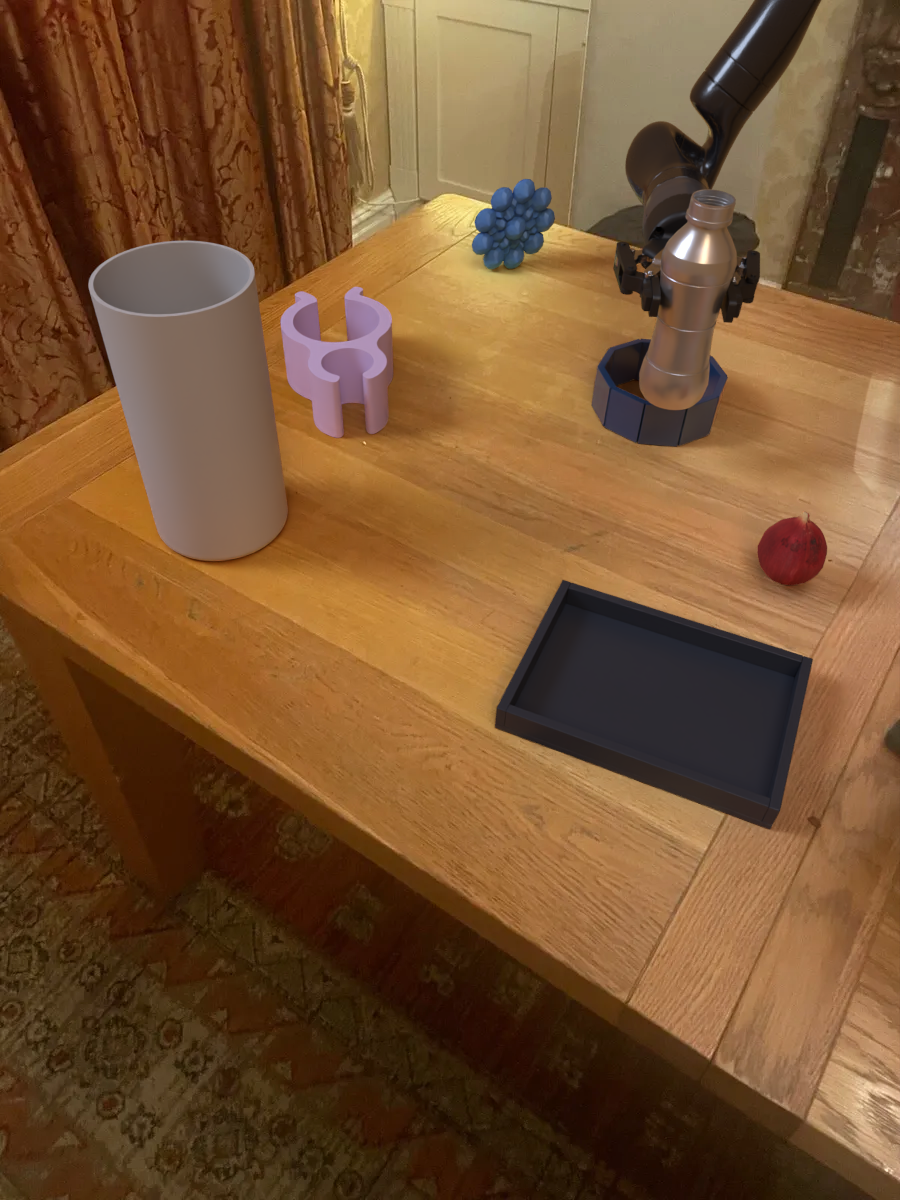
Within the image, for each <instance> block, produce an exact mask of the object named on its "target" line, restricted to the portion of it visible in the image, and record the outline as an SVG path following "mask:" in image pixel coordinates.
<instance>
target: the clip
mask: <svg viewBox="0 0 900 1200" xmlns="http://www.w3.org/2000/svg"><path fill="white" fill-rule="evenodd" d="M344 310H345V325H346V341H323V340H322V338H321V337H322V335H321V325H320V316H319V305H318V298H316V297H315V296H314V295H312V294H311V293H308V292H306V291H303V290H302V291H301V290H299V291H297V292H295V293H294V303H293V304H291V305H290V306H289V307H287V308H286V309H285V311H284V312H283V313H282V315H281V317H280V322H279V323H280V331H281V339H282V347H283V355H284V362H285V372H286V380H287V382H288V384H289V386H290V388H291V389H292V390H293V391H294V392H295V393H296V394H298V395H300V396H301V397H303V398H305V399H308V400H309V401H311V406H312V407H311V408H312V417H313V422H314V425H315V427H316V428H317V429H318V431H320V432H321V433H323V434H325V435H326V436H330V437H332V438H335V439H340V438H342V437H344V434H345V430H344V428H345V427H344V415H343V405H344V404H360V405H363V406H364V419H365V420H364V421H365V431H366V432H367V433H368V434H370V435H374V434H377V433H379V432H380V431H382V430H383V429H384V428H385V427H386V425H387V424H388V421H389V417H390V415H389V413H390V412H389V388H388V387H389V386H390V384H391V383H392V381H393V378H394V347H393V346H394V345H393V343H394V341H393V318H392V317H393V316H392V314H391V311H390V310H389V309H388V307H386V306H385V305H384V304H383V303H381V302H379V301H378V300H376V299H373V298H371V297H369V296H364V288H363V287H360V286H353V287H352V288H350V289H349V290H348V291H347V292H345V294H344Z"/></svg>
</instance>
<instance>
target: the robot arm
mask: <svg viewBox="0 0 900 1200" xmlns="http://www.w3.org/2000/svg"><path fill="white" fill-rule="evenodd" d="M821 3H822V0H753V2H752V3H751V4H750V6H749V8H748V9H747V11H746V12H745V14H744V15H743V16H742V18H741V19H740V21H739V22H738V23H737V24H736V26H735V28H734V29H733V30H732V32H731V33H730V35H729V36H728V37H727V38H726V40H725V41H724V42H723V44H722V45H721V46H720V48H719V50H718V51H717V52H716V54H715V55H714V56H713V58H712V59H711V60H710V62H709V63H708V65H707V66H706V67H705V69H704V70H703V72H702V73H701V74H700V76H699V77H698V78H697V80H696V81H695V83H694V84H693V86H692V88H691V90H690V92H689V101H690V103H691V105H692V108H693V109H694V110H695V111H696V112H697V114H698V115H699V116H700V118H701V119H702V120H703V122H704V123H705V125H706V126H707V135H706V138H705V141H704V143H703V144H702V145H700V144H699V143H698V142H697V141H695V140H694V139H692V138H691V137H690V136H689V135H687V134H686V133H685V132H683V131H682V130H681V129H680V128H679V127H677V126H676V125H674V124H673V123H671V122H668V121H665V120H658V121H653V122H651V123H649V124H647V125H645V126H644V127H642V128H641V129H640V130H639V131H638V132H637V133H636V135H635V136H634V138H633V139H632V141H631V143H630V144H629V147H628V149H627V152H626V157H625V162H624V164H625V165H624V166H625V167H624V170H625V176H626V179H627V182H628V184H629V186H630V187H631V189H632V191H633V193H634V194H635V197H636V199H638V201H639V202H640V203H641V205H642V207H643V215H642V227H641V236H642V240H643V247H642V249H636V248H633V247H632V248H631V246H630V244H629V242H627V241H618V242H617V243H616V247H615V253H614V259H613V264H612V265H613V266H612V269H613V273H614V275H615V279H616V283H617V286H618V289H619V292H620V294H622V295H625V296H629V295H632V294H633V293H636V294H638V296H639V298H640V304H641V305H640V307H641V310H642V311H643V312H648V317H649V318H657V315H658V310H659V305H660V300H661V291H660V272H661V258H662V252H663V250H664V248H665V246H666V244H667V242H668V241H669V239H670V238H671V237H672V236H673V235H674V234H675V233H676V232H677V231H678V230H679V229H680V228H681V227H683V226H684V225H685V224H686V223H687V222H688V220H687V219H686V212H687V209H688V208H689V204H690V200H691V196H692V194H693V193H694V192H695V191H698V190H704V189H712V190H713V188H714V186H715V184H716V182H717V180H718V177H719V175H720V173H721V171H722V168H723V166H724V163H725V161H726V160H727V157H728V155H729V153H730V151H731V149H732V147H733V145H734V143H735V142H736V140H737V138H738V136H739V134H740V133H741V132H742V130H743V128H744V126H745V125H746V123H747V122H748V121H749V119H750V117H751V116H752V115H753V114H754V112H755V111H756V110H757V109H758V108H759V106H760V105H761V104H762V103H763V101H764V100H765V98H767V96H768V95H769V93H770V92H771V91H772V89H773V88H774V87H775V86H776V85H777V83H778V82H779V80H780V79H781V78H782V76H783V75H784V73H785V72H786V71H787V69H788V67H789V66H790V64H791V62H792V61H793V59H794V58H795V56H796V54H797V52H798V50H799V48H800V47H801V44H802V43H803V40H804V38H805V36H806V34H807V32H808V30H809V27H810V25H811V24H812V21H813V19H814V17H815V14H816V12H817V11H818V9H819V6H820V4H821ZM638 264H640V266H641V267H642V268H643V269H644V270H643V272H642V271H638V266H637V265H638ZM760 278H761V253H760V252H759V251H758V250H755V249H754V250H753V249H752V250H747V252H746V255H742V256H737V266H736V269H735V272H734V275H733V277H732V280H731V282H730V285H729V287H728V290H727V292H726V295H725V297H724V299H723V302H722V305H721V308H720V312H721V316H722V322H723V323H726V324H732V323H733V321H734V319H739V317H740V314H741V311H742V307H743V304H752V303H754V300H755V295H756V290H757V288H758V283H759V281H760Z"/></svg>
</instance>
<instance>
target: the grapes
mask: <svg viewBox="0 0 900 1200" xmlns="http://www.w3.org/2000/svg"><path fill="white" fill-rule="evenodd" d="M552 198H553V196H552V191H551V190H550V189H549V188H548V187H538V188H536V186H535V182H534V181H533V180H532V179H531V178H523V179H521V180H519V181H518V182H517V183H515V186H514V187H513V189H511V188H510V186H509V187H508V186H501V187H499V188H498V189H496V190H495V191H494V193H493V194H492V195H491V199H490V207H485V208H483V209H481V210H479V212H478V213H476V216H475V219H474V227H475V229H476V231H478V233H477V234H476V235H475V236H474V238H473V239H472V242H471V248H472V251H473V253H474V254H475V255H477V256H483V258H482V262H483V266H484V267H485V268H486V269H487V270H495V269H497V268H499V267H500V266H501V264H502V263H503V266H504V267H505V268H506V269H509V270H513V269H517V268H518V267H519V266H520V265H521V264H522V263H523V261H524V259H525V254H526V255H535V254H537V253H539V251H540V250H541V249H542V248H543V246H544V243H545V238H544V233H545V232H547V231H549V230H550V229H551V228H552V226H553V225H554V223H555V220H556V216H555V211H554V210H553V209H552V208H549V206H550V204H551V203H552Z"/></svg>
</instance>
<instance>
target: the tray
mask: <svg viewBox="0 0 900 1200" xmlns="http://www.w3.org/2000/svg"><path fill="white" fill-rule="evenodd" d="M813 661H814V658H812V657H810V656H805V655H803V654H799V653H796V652H793V651H790V650H787V649H783V648H780V647H778V646H774V645H772V644H768V643H765V642H761V641H758V640H755V639H752V638H749V637H745V636H743V635H739V634H737V633H733V632H730V631H726V630H724V629H720V628H717V627H715V626H711V625H708V624H704V623H701V622H698V621H695V620H691V619H689V618H686V617H683V616H679V615H675V614H672V613H669V612H666V611H663V610H660V609H658V608H653V607H651V606H648V605H644V604H641V603H638V602H635V601H632V600H629V599H625V598H622V597H618V596H616V595H612V594H610V593H607V592H604V591H600V590H597V589H594V588H592V587H591V588H590V587H587V586H584V585H581V584H578V583H574V582H571V581H568V580H565V579H562V580H561V582H560V584H559V586H558V588H557V590H556V592H555V594H554V595H553V597H552V599H551V602H550V603H549V605H548V607H547V609H546V610H545V613H544V615H543V617H542V618H541V621H540V622H539V624H538V625H537V628H536V630H535V632H534V635H533V636H532V638H531V640H530V642H529V644H528V645H527V648H526V650H525V652H524V654H523V656H522V658H521V660H520V662H519V663H518V665H517V667H516V669H515V671H514V673H513V675H512V677H511V679H510V681H509V683H508V685H507V686H506V689H505V690H504V693H503V694H502V696H501V698H500V700H499V702H498V704H497V706H496V707H495V708H496V710H495V719H494V729H497V730H500V731H502V732H505V733H508V734H511V735H512V736H516V737H518V738H521V739H524V740H527V741H529V742H532V743H535V744H537V745H541V746H542V747H545V748H548V749H550V750H554V751H556V752H559V753H561V754H564V755H568V756H570V757H572V758H575V759H578V760H580V761H583V762H586V763H588V764H592V765H594V766H597V767H599V768H601V769H605V770H608V771H610V772H613V773H616V774H618V775H621V776H623V777H627V778H629V779H631V780H635V781H637V782H640V783H643V784H645V785H648V786H651V787H653V788H656V789H659V790H661V791H664V792H667V793H670V794H673V795H675V796H677V797H681V798H683V799H686V800H688V801H691V802H694V803H696V804H700V805H702V806H705V807H706V808H707V807H708V808H710V809H713V810H716V811H717V812H718V811H719V812H721V813H724V814H726V815H728V816H732V817H734V818H737V819H740V820H743V821H745V822H748V823H751V824H753V825H756V826H759V827H762V828H765V829H767V830H771V829H772V828H773V825H774V823H775V822H776V819H778V816H779V814H780V813H781V810H782V809H781V808H782V804H783V800H784V795H785V790H786V785H787V781H788V777H789V773H790V767H791V762H792V760H793V759H792V758H793V754H794V749H795V744H796V741H797V740H796V739H797V735H798V731H799V725H800V721H801V717H802V712H803V707H804V704H805V698H806V694H807V689H808V684H809V680H810V676H811V671H812V666H813Z"/></svg>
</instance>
